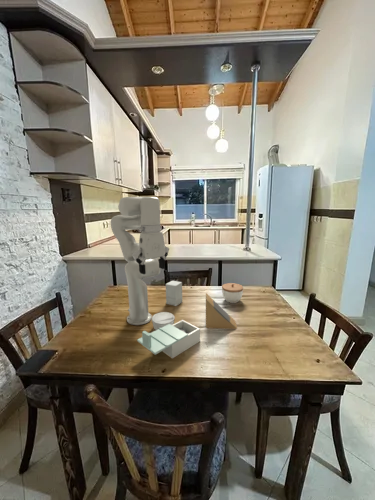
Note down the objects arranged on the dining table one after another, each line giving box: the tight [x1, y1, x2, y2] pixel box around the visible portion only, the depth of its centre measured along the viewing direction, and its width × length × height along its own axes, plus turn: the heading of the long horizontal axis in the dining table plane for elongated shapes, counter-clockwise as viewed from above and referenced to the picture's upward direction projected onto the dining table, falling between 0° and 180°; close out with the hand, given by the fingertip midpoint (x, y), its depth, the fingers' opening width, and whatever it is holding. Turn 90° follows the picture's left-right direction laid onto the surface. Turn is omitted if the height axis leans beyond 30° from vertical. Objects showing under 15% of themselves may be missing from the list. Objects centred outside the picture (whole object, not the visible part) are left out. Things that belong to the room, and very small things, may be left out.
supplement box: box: [165, 280, 183, 307], centre depth 138 cm, size 7×7×13 cm
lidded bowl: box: [221, 282, 244, 304], centre depth 141 cm, size 13×13×11 cm
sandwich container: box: [205, 292, 238, 330], centre depth 113 cm, size 9×15×15 cm, turn 87°
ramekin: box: [151, 311, 175, 331], centre depth 112 cm, size 11×11×5 cm
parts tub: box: [162, 319, 201, 359], centre depth 99 cm, size 11×16×6 cm
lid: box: [136, 324, 188, 356], centre depth 92 cm, size 12×17×6 cm
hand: (152, 270), depth 94 cm, fingers open, 9 cm apart
